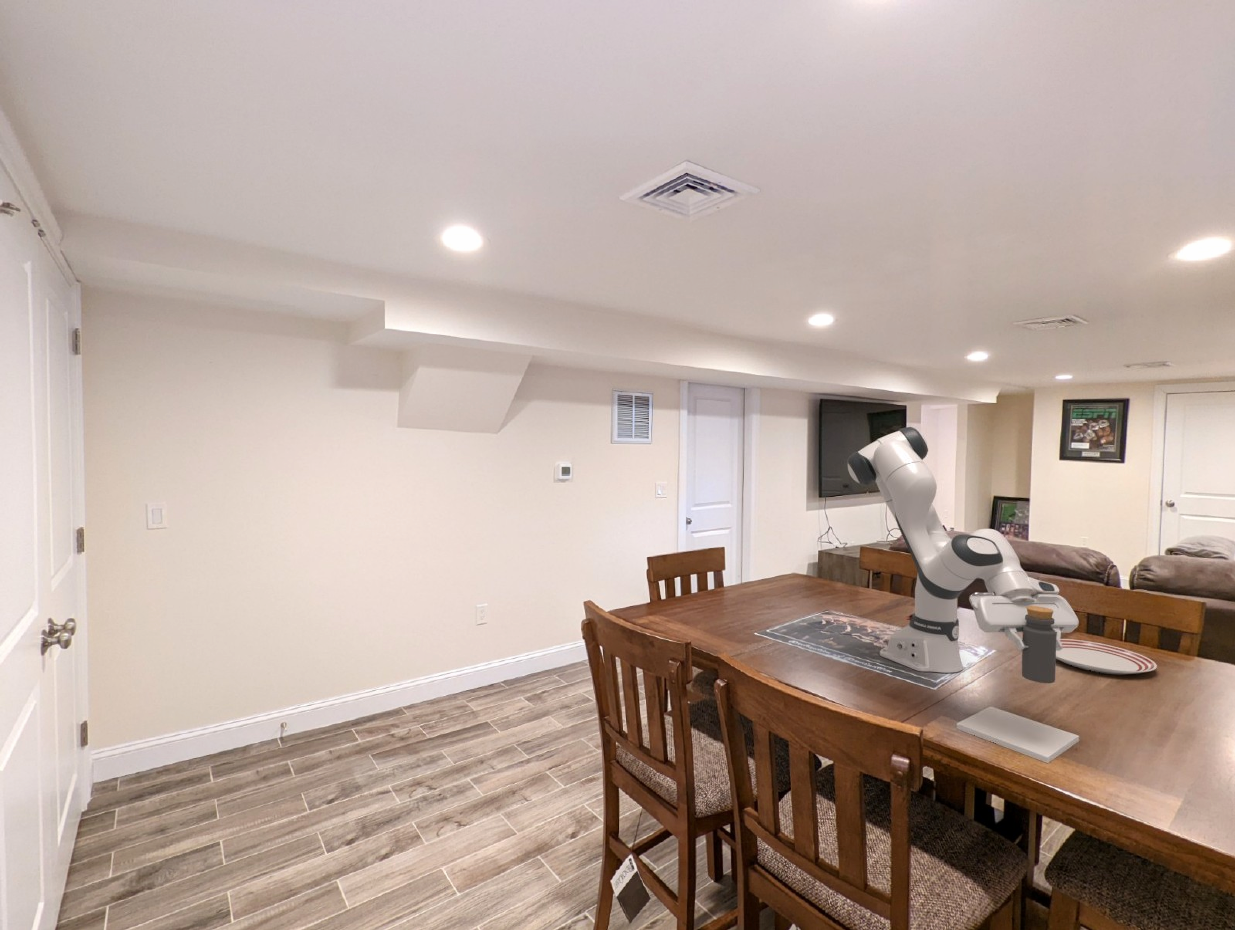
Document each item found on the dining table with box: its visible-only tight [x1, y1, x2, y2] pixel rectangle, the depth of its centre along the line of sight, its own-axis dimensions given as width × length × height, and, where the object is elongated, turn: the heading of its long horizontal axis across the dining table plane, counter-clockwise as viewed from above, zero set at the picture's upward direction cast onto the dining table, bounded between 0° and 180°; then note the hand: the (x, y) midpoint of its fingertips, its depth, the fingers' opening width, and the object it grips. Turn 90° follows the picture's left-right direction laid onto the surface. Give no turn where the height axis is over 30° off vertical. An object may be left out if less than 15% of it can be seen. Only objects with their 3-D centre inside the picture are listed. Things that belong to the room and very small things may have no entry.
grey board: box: [956, 706, 1080, 764], centre depth 133 cm, size 18×16×1 cm
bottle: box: [1021, 606, 1057, 684], centre depth 127 cm, size 6×6×15 cm
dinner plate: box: [1056, 638, 1158, 675], centre depth 176 cm, size 27×27×3 cm
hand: (1041, 649), depth 126 cm, fingers closed on bottle, 6 cm apart
